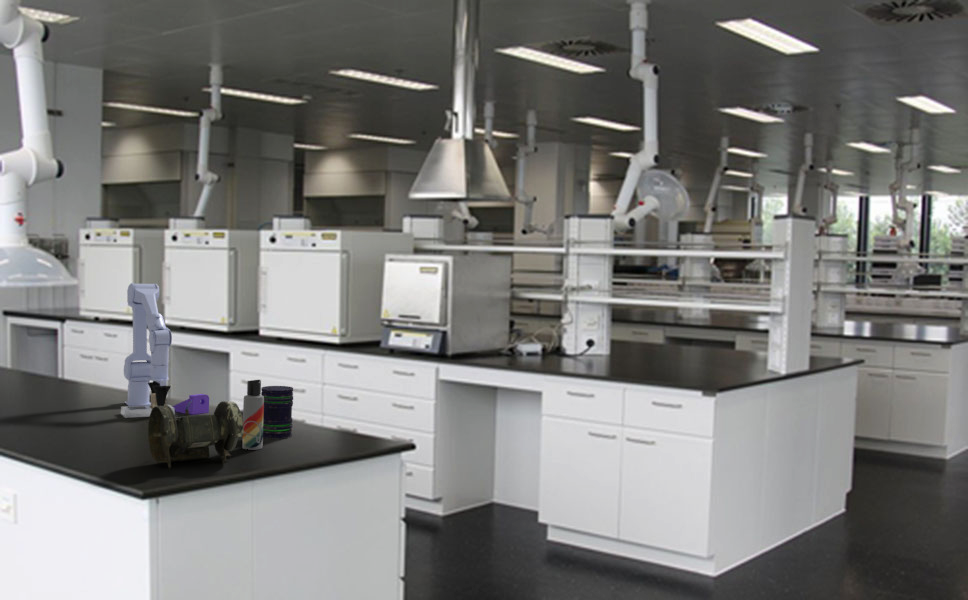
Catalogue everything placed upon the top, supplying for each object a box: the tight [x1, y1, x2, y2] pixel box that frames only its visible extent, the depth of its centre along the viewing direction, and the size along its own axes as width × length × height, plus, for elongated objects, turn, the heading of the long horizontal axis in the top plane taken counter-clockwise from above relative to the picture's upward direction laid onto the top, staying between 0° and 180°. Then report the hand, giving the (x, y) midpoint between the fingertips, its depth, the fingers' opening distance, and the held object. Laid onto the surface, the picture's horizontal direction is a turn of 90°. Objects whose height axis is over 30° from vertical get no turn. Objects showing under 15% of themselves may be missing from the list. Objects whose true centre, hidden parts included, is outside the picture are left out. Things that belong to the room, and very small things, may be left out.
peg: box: [150, 393, 167, 409], centre depth 323 cm, size 4×4×7 cm
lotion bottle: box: [241, 379, 264, 451], centre depth 272 cm, size 6×6×20 cm
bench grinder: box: [147, 400, 244, 469], centre depth 251 cm, size 20×22×20 cm
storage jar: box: [261, 385, 294, 440], centre depth 292 cm, size 10×10×15 cm
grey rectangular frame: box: [120, 404, 176, 419], centre depth 321 cm, size 8×16×2 cm, turn 120°
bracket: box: [171, 393, 210, 416], centre depth 331 cm, size 12×7×7 cm, turn 55°
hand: (158, 404), depth 323 cm, fingers open, 6 cm apart
